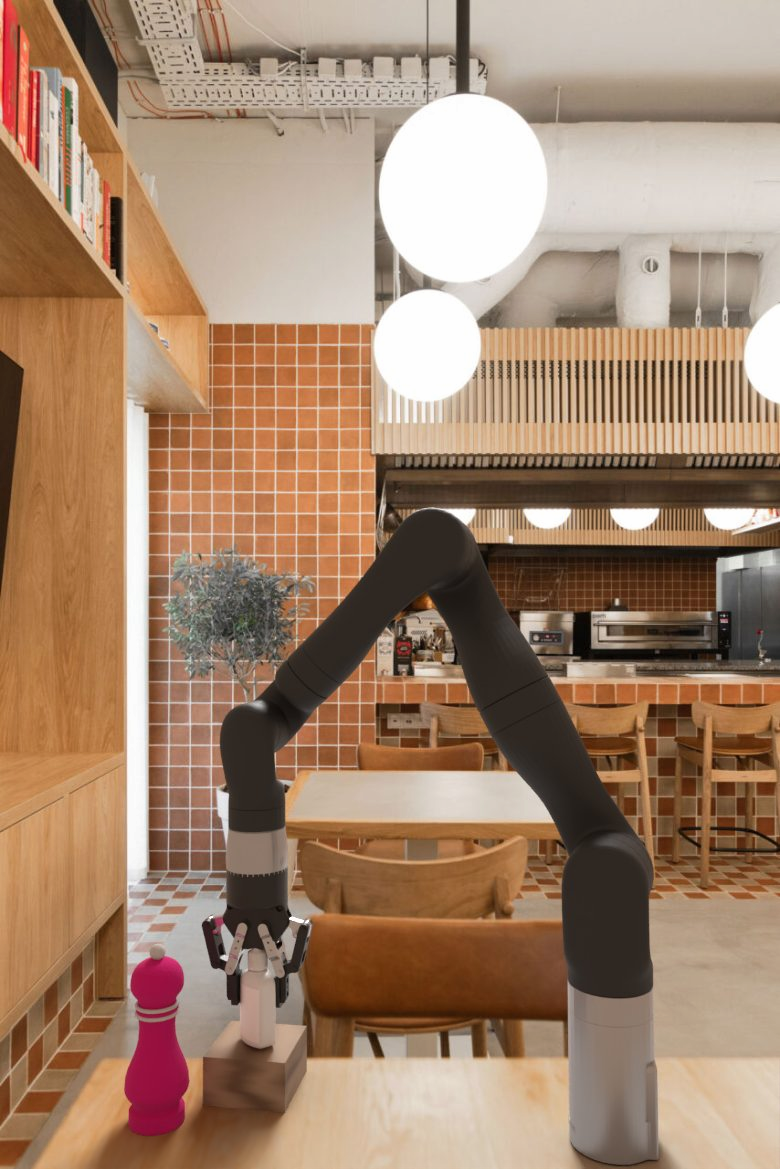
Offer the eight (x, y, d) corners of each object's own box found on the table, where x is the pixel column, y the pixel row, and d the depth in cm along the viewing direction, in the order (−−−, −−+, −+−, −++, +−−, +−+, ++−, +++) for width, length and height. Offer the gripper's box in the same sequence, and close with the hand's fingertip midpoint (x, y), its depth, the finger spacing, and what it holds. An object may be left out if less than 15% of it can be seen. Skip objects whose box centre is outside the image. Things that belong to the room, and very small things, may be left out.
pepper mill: (172, 1142, 102) (173, 957, 103) (112, 1135, 104) (113, 953, 104) (199, 1108, 109) (199, 935, 110) (142, 1102, 111) (142, 931, 112)
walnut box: (306, 1074, 118) (306, 1025, 118) (285, 1115, 108) (285, 1062, 108) (231, 1068, 120) (231, 1020, 120) (202, 1108, 110) (202, 1056, 110)
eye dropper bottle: (238, 1051, 110) (238, 948, 111) (240, 1031, 116) (240, 933, 117) (275, 1049, 111) (275, 946, 112) (275, 1029, 117) (275, 931, 117)
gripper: (321, 857, 117) (321, 995, 117) (212, 854, 120) (212, 989, 119) (305, 874, 110) (306, 1020, 109) (190, 869, 112) (190, 1013, 112)
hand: (257, 1003), depth 114 cm, fingers closed on eye dropper bottle, 5 cm apart
